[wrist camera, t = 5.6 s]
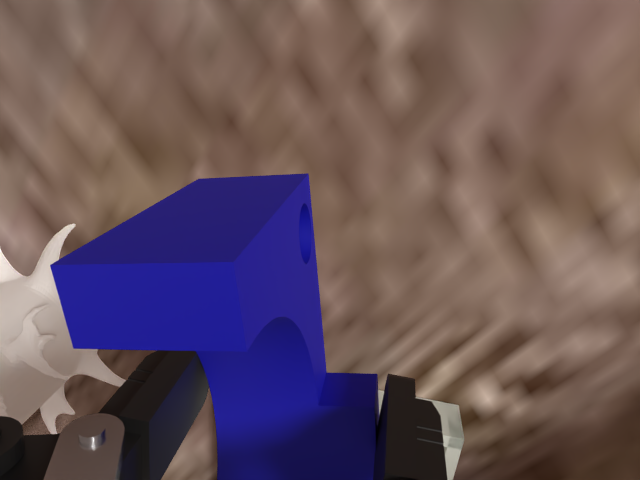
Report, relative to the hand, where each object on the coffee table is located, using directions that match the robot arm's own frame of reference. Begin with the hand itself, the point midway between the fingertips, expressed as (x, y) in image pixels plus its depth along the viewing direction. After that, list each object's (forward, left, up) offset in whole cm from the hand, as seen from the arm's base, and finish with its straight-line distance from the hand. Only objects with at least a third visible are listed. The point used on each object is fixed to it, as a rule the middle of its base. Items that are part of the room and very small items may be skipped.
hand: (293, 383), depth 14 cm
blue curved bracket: (0, 0, -1) cm, 1 cm away
